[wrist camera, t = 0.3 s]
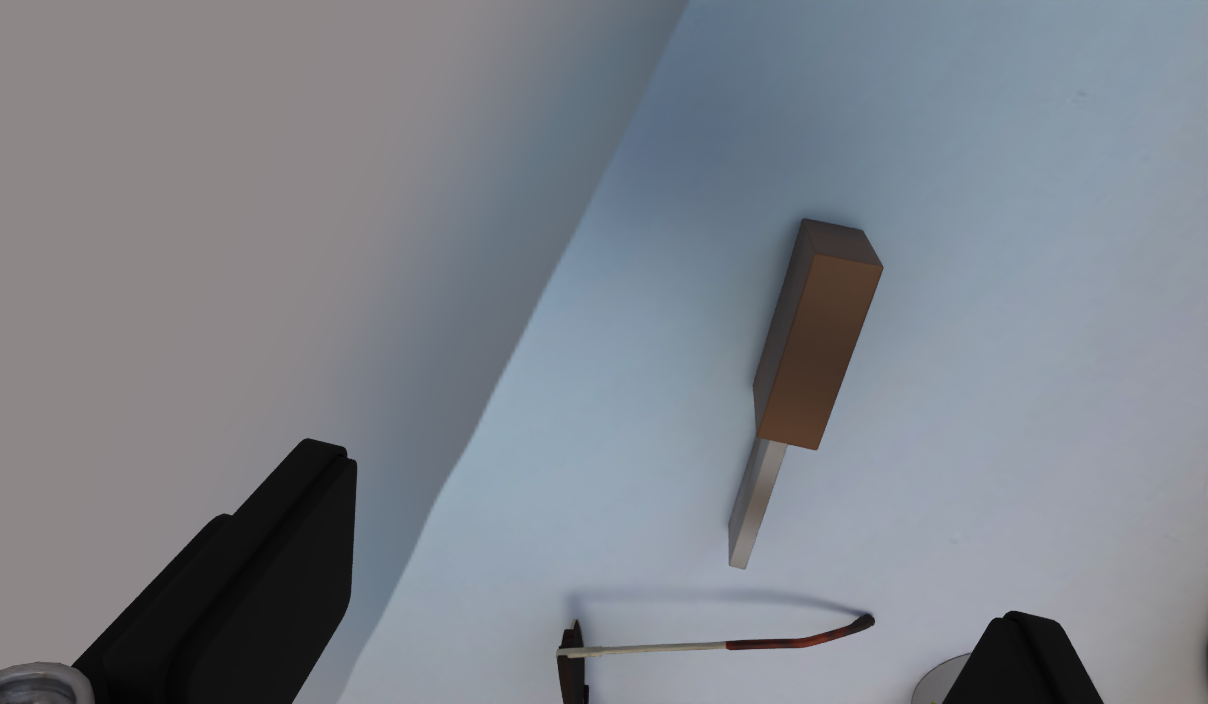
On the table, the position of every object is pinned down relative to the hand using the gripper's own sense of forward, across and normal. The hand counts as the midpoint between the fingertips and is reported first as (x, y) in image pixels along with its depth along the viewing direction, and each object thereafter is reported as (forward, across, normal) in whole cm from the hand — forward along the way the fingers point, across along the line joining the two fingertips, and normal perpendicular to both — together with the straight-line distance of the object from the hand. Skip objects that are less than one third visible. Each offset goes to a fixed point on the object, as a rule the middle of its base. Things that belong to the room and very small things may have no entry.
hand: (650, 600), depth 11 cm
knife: (+22, -6, +7) cm, 24 cm away
